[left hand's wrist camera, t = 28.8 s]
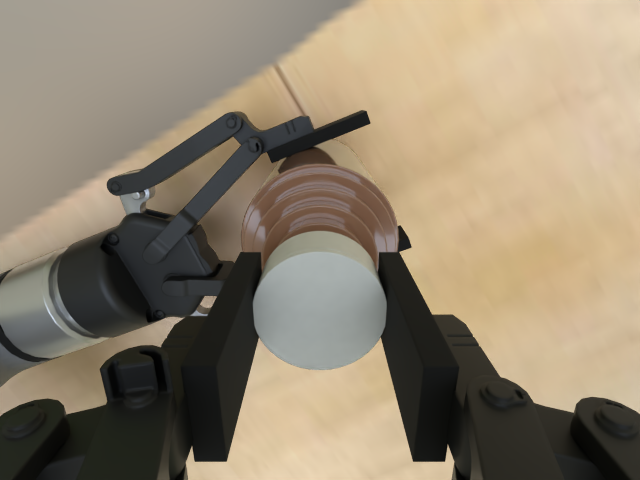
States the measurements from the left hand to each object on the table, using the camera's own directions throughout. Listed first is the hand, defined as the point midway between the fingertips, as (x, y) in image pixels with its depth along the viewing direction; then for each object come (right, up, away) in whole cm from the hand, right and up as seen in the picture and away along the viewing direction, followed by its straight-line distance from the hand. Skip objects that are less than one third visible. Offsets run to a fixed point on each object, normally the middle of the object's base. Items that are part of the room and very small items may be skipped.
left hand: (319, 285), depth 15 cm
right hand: (+4, +6, +11) cm, 13 cm away
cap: (0, -1, -2) cm, 2 cm away
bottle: (0, +6, +18) cm, 19 cm away
